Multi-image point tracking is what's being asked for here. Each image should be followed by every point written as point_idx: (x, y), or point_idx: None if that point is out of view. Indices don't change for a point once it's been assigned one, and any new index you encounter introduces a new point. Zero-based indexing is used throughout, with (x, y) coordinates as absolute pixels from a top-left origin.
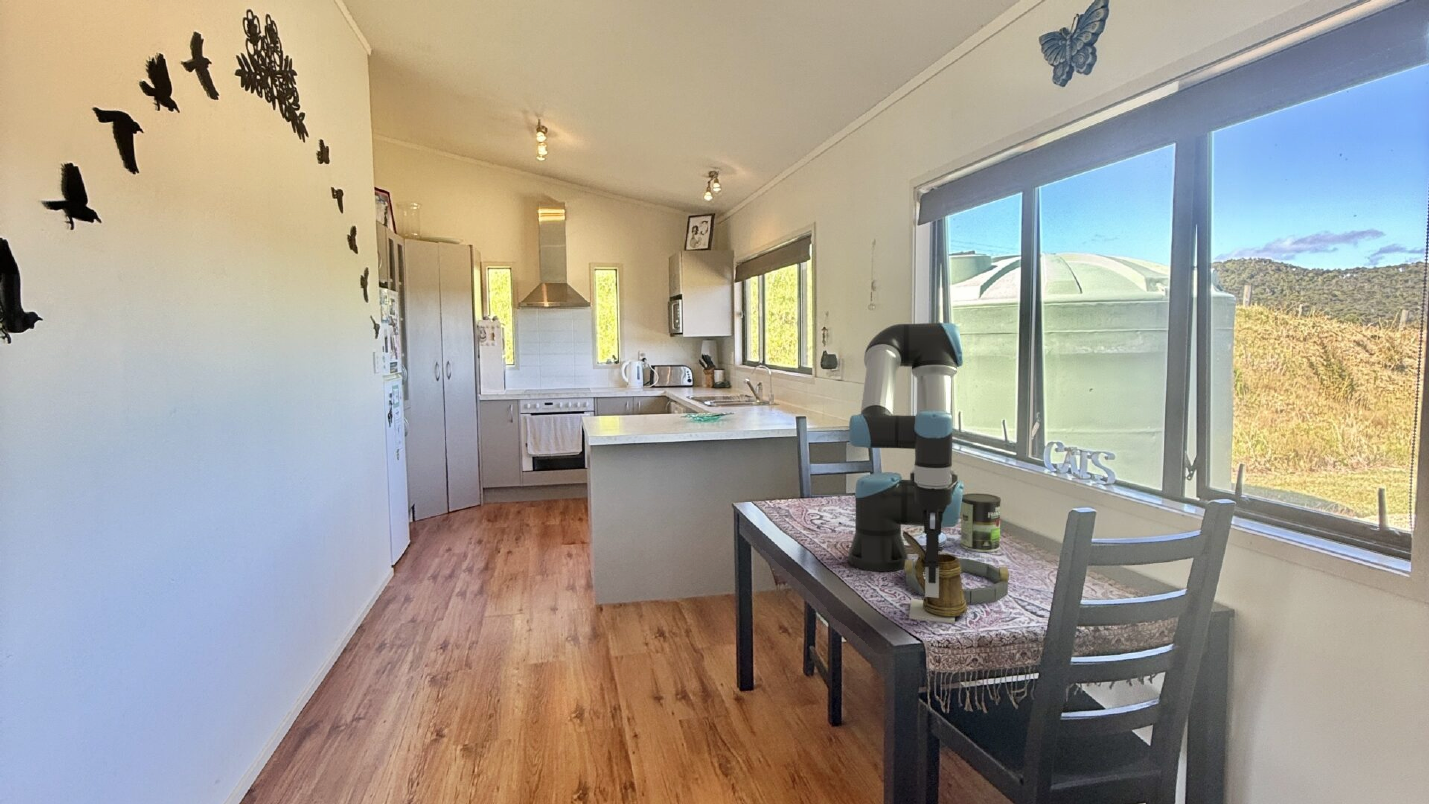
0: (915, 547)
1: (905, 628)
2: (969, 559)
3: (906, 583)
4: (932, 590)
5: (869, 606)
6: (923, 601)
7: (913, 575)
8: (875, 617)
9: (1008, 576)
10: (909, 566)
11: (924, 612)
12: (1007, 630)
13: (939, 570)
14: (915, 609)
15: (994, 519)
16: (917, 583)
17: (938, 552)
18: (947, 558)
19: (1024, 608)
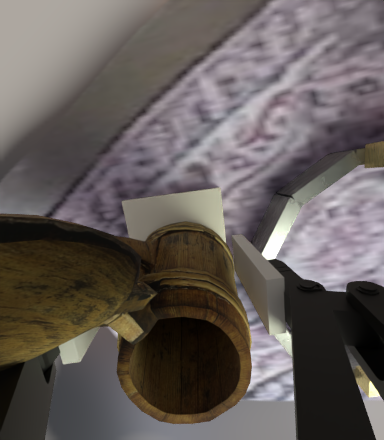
0: None
1: (70, 201)
2: None
3: (329, 155)
4: None
5: (155, 92)
6: (168, 229)
7: (337, 175)
8: (95, 123)
9: (362, 389)
10: (381, 157)
11: (151, 229)
12: None
13: (118, 336)
14: (159, 208)
15: None
16: (291, 193)
17: (283, 330)
18: (237, 361)
19: (265, 382)
